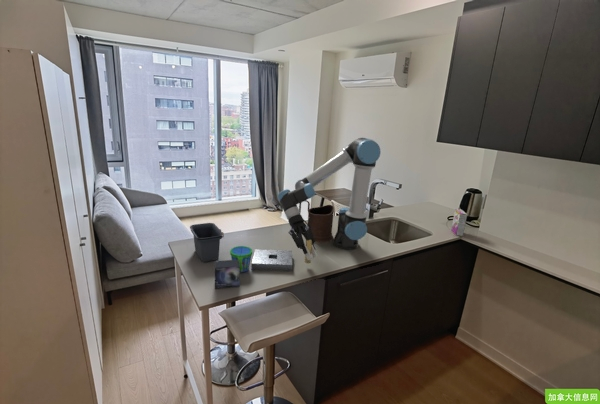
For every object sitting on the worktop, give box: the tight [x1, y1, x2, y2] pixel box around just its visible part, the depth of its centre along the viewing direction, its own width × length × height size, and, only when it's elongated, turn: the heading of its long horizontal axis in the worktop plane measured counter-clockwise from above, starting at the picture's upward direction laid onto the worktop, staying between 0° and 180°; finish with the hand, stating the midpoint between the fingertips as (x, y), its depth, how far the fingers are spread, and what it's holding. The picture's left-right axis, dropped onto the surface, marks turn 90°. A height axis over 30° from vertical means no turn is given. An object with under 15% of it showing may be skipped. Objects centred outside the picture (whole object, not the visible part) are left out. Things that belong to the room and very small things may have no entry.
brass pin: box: [304, 239, 312, 264], centre depth 153 cm, size 3×3×12 cm
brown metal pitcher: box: [298, 199, 335, 243], centre depth 192 cm, size 18×24×25 cm
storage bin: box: [189, 222, 224, 263], centre depth 160 cm, size 21×16×14 cm
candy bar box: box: [451, 208, 468, 237], centre depth 215 cm, size 11×5×16 cm, turn 171°
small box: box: [214, 259, 240, 290], centre depth 134 cm, size 11×6×10 cm, turn 105°
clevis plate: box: [250, 248, 293, 272], centre depth 157 cm, size 20×16×4 cm
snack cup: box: [229, 245, 253, 274], centre depth 148 cm, size 16×10×10 cm
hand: (313, 258), depth 151 cm, fingers closed on brass pin, 3 cm apart
